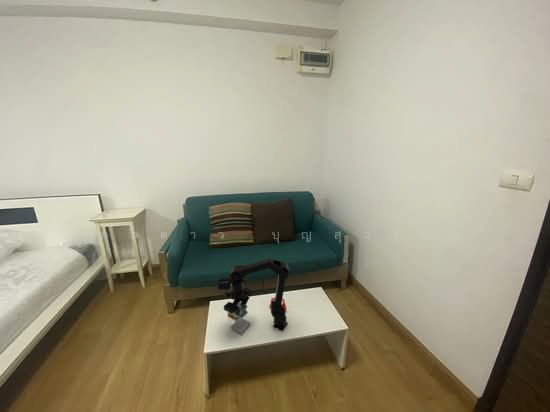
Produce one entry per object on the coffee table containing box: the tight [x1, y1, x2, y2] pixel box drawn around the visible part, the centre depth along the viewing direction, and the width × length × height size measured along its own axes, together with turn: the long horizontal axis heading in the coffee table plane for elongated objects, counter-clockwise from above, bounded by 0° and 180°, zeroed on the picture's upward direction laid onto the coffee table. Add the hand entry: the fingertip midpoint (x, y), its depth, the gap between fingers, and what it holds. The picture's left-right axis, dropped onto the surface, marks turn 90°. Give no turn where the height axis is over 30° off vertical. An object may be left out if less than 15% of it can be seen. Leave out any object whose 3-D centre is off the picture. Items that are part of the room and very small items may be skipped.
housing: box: [233, 302, 248, 319], centre depth 129 cm, size 5×7×5 cm
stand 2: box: [230, 317, 252, 336], centre depth 132 cm, size 8×8×2 cm
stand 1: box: [227, 312, 240, 322], centre depth 142 cm, size 8×8×2 cm
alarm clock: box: [269, 297, 287, 312], centre depth 147 cm, size 10×6×15 cm
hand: (240, 312), depth 129 cm, fingers closed on housing, 5 cm apart
